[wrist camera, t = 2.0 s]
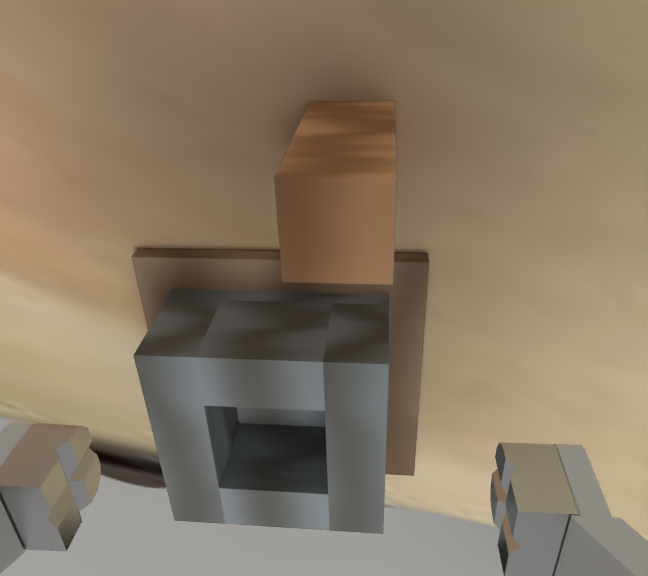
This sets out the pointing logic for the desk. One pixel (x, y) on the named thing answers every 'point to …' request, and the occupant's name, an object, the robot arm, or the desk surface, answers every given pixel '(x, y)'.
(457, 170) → the desk surface
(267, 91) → the desk surface
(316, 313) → the hole block
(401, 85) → the desk surface
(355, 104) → the peg
